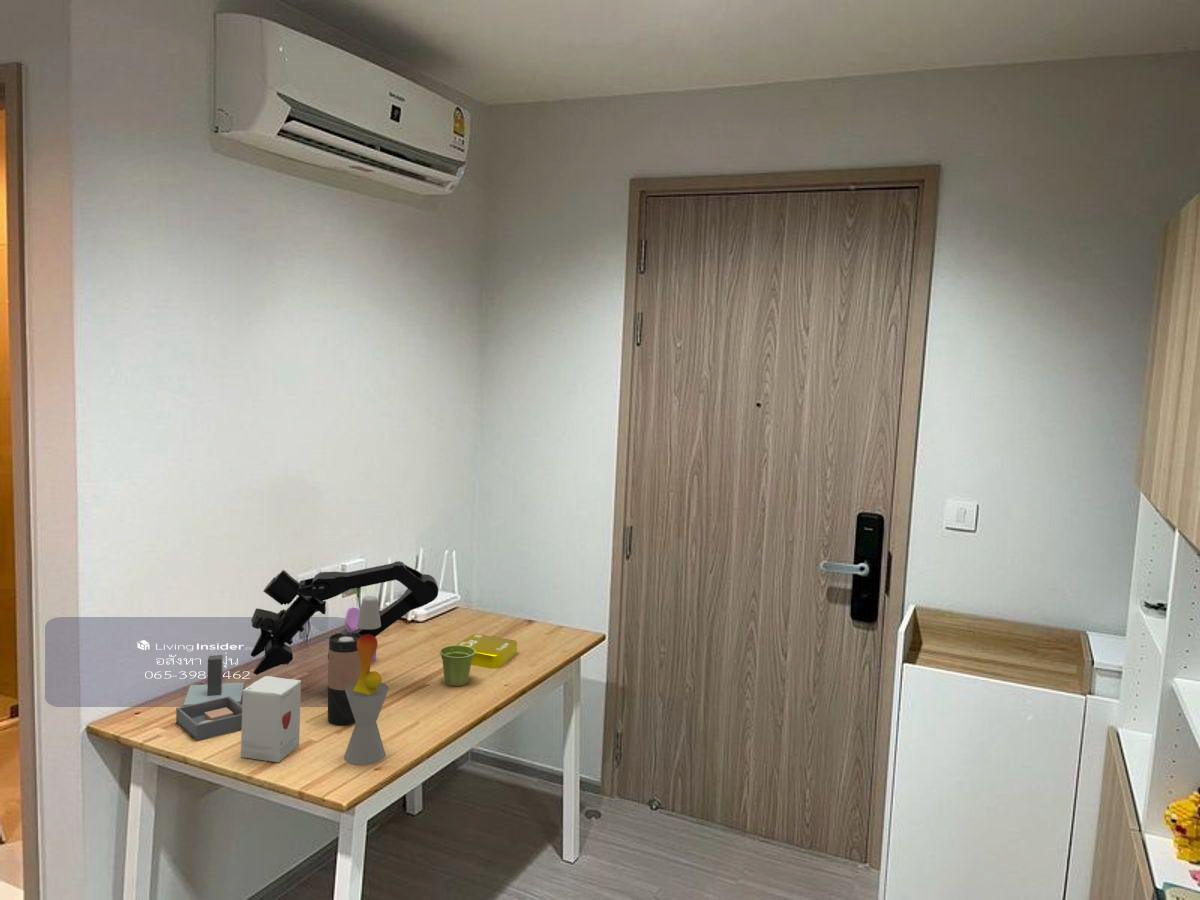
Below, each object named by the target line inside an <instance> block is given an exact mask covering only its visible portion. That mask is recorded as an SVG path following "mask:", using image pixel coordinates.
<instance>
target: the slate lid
mask: <svg viewBox="0 0 1200 900" xmlns="http://www.w3.org/2000/svg"><path fill="white" fill-rule="evenodd" d="M223 659H224V658H223V654H214V655H213V654H211V655H208V658H207V683H206V684H190V685H189V688H188V690H187V692H186V693H187V694H186V696H185V699H184V702H183V706H182V707H184V706H188V705H193V704H197V703H201V702H206V701H210V700H215V699H219V698H223V697H228V696H230V697H231V698H232V699H234V700H235V701H236V702H238V703H239V704H240V705H242V699H243V689H245V682H229V683H228V682H227V683H226V682H225V683H223V663H224V662H223Z"/></svg>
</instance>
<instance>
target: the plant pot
mask: <svg viewBox="0 0 1200 900" xmlns="http://www.w3.org/2000/svg"><path fill="white" fill-rule="evenodd" d="M475 652H476V651H475V649H474V648H472V647H469V646H463V645H456V644H453V645H447V646H444V647H441V649H440V650H439V654H440V655H441V656H440V657H441V659H442V665H443V666H442V668H443V678H444V680H443V681H444V683H445V684H446V685H447V686H450V687H451V686H456V687H462V686H465V685H467V684H468V682H469V677H470V672H471V666H472V665H471V662H472V659H473V656H474V654H475Z"/></svg>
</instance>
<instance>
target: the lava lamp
mask: <svg viewBox="0 0 1200 900" xmlns="http://www.w3.org/2000/svg"><path fill="white" fill-rule="evenodd" d="M359 610H360V614H359V619H358V624H357V627H356V628H357V629H358V628H360V629H377V628H379V627H381V621H380V614H379V613H380V606H379V600H378V598H377V597H376V596H374V595H373V596H372V595H367V596H364V597H363V598H362V600H361V605H360V609H359ZM376 638H377V637H376ZM376 638H375V637H374V636H372V635H369V634H366V635H363V636H361V637H360V638H359V639H358V641H357V649H358V653H359V656H360V661H361V671H360V676H359V679H358V682H357V683H353V684H351V685H349V686H347V687H346V689H345V692H346V695H347V698H348V701H349V704H350V707H351V710H352V713H353V716H354V719H355V722H356V723H354V728H353V731H352V732H351V736H350V739H349V741H348V744H347V747H346V751H345V753H344V755H343V758H344V760H345V762H347V763H349V764H352V765H357V766H368V765H374V764H378V763H379V762H381V761H383V760H384V759H385V758H386V755H387V754H386V751H385V747H384V744H383V740H382V737H381V734H380V730H379V727H378V723H377V721H378V718H379V717H380V713H381V710H382V707H383V705H384V704H385V701H386V698H387V695H388V692H389V690H390V688H389V685H387V684H386V683H383V682H382V680H383V679H382V678H383V677H382V675H381V674H380V673H379V672H378V671H374V670H373V671H371V665H372V663H371V661H372V658H373V655H374V653H375V651H376V652H377V650H376V649H377V648H378V639H377V640H376Z"/></svg>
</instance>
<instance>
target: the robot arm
mask: <svg viewBox="0 0 1200 900" xmlns="http://www.w3.org/2000/svg"><path fill="white" fill-rule="evenodd" d="M392 581H397V582H399V583H400V584H402V585H403V586H404V587H406V590H405V591H404V592H403V594H402V595H401V596H400V597H399V598H397V599H396V600H395V601H393V602H392V603H390V604H389V605H388V606H386V607H385V608H384V609H383V610H381V611H379V614H380V621H381V627H379V628H377V629H360V628H358V627H357V628H356V630H355V631H351V632H348V628H344V629H343V630H342V631H341V632H340V633H342V634H344V635H349V634H351V633H357V634H360V635H361V636H363V635H366V634H369V635H372V636H374V637H376V638H377V636H379V635H380V634H381V633H383V632H384V631H385V630H386V629H388V628H389V627H390V626H392V625H393V624H395V623H396V622H397V621H398V620H401V618H402V617H404V616H405V615H407V613H409V612H410V611H412V610H416V609H419V608H421V607H424V606H426V605H428V604H429V603H430V604H431V603H432V602H434V601H435V600H436V599H437V597H438V596H439V586H438V583H437V580H436V578H435V577H433V576H432V575H430V574H424V573H421V572H420V571H418V570H417V569H414V568H413V567H411V566H408V565H407V564H405V563H404V562H403V561H399V560H398V561H397V560H396V561H394V562H392V563H386V564H383V565H378V566H372V567H368V568H363V569H359V570H353V571H348V572H347V571H345V572H344V571H343V572H342V571H321V572H318V573H316V575H314V577H311V578H307V579H303V580H300V581H298V580H296V579H295V578H294V577H292V576H291V575H290V574H289V573H288V572H287V571H286V570H284V569H283V570H281V571H280V572H279V573H278V574H277V575H275V576H274V577H273V578H272V579H271V580H270V582H269V583H268V584H267V585H266V586H265V588H264V589H263V593H265V594H267V596H269V597H270V598H271V599H272V600H274V601H276V602H277V603H278V604H279V605H281V606H283V605H285V606H286V605H289V606H288V608H286V609H281V610H280V611H279V612H278V613H277V612H273V611H271V610H267V609H261V608H256V609H254V612H253V615H252V617H251V620H250V621H251V627H252V628H254V629H257V630H260V635H258V639H257V641H256V642H255V645H254V647H253V648H252V650H251V653H250V656H251V657H252V658H255V657H257V656H258V655H260V654H261V653H264V656H262V658H261V659H260V661H259V663H258V664H257V665H256V667H255V669H254V670H253V674H255V675H256V676H257V675H260V674H263V673H264V672H267V671H269V670H271V669H273V668H275V667H278V666H283V665H284V666H285V665H289V664H290V663H291V662H292V661H293V659H294V656H293V655H294V654H293V650H292V647H291V645H292V644H293V643H294V642H293V641H294V640H293V639H294V637H295V636H296V635H297V634H298V633H299V632H300V633H303V632H304V630H305V627H304V626H305V625H306V624H307V622H308V621H309V620H310V619H311V618H312V617H313V616H314V614H316V612H317V611H318V612H320V613H321V614H322V615H325V614H326V612H327V607H326V604H327V601H328V600H330V599H333V598H335V597H337V596H339V595H341V594H343V593H345V592H348V591H351V590H353V589H358V588H363V587H368V586H373V585H377V584H381V583H382V584H383V583H387V582H392ZM295 598H296V599H295ZM294 599H295V600H294ZM327 651H328V653H327V659H328V660H327V661H329V650H327Z"/></svg>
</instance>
